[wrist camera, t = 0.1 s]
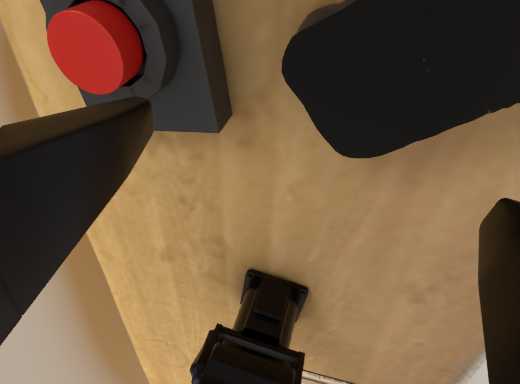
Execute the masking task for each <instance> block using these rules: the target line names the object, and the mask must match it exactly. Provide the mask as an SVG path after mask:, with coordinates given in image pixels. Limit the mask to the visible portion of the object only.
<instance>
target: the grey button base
mask: <svg viewBox="0 0 520 384" xmlns="http://www.w3.org/2000/svg"><path fill="white" fill-rule="evenodd" d="M40 1H41V4H42V6H43V8H44V10H45V13H46V29H48V25H49V23H50V21H51V19H52V17H53V16H54V15H55V14H57V13H58V12H60V11H63V10H66V9H68V8H71V7H74V6H76V5H79V4H82V3H84V2H87V1H91V0H40ZM98 1H103V2H106V3H108V4H111V5H113V6H114V7H116V8H117V9H119V10H120V11H121V12H122V13H124V14H125V15H126V16H127V18H128V19H129V20H130V21H131V22H132V24H133V25H134V27H135V28H136V30H137V32H138V34H139V36H140V39H141V42H142V46H143V63H142V66H141V69H140V71H139V72H138V73H137V74H136V75H135V76H134V77H133V78H131V79H130V80H129V81H127V82H126V83H125V84H123V85H122V86H121V87H119V88H118V89H116V90H115V91H114V92H112V93H109V94H102V95H100V94H93V93H90V92H87V91H85V90H83V89H81V88H79V87H78V88H79V90H80V93H81V95H82V97H83V99H84V102H85V104H86V106H87V107H88V106H93V105H97V104H102V103H106V102H111V101H115V100H120V99H124V98H129V97H133V96H138V97H141V98H145V99H148V100H150V101H151V103H152V109H153V124H154V129H153V130H155V131H180V132H206V133H220V131H221V130H222V128H223V127H224V126H225V124H226V123H227V121H228V120H229V119H230V117H231V116H232V111H231V105H230V100H229V94H228V88H227V83H226V77H225V71H224V66H223V60H222V54H221V49H220V43H219V37H218V32H217V26H216V20H215V15H214V9H213V3H212V0H98Z"/></svg>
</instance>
